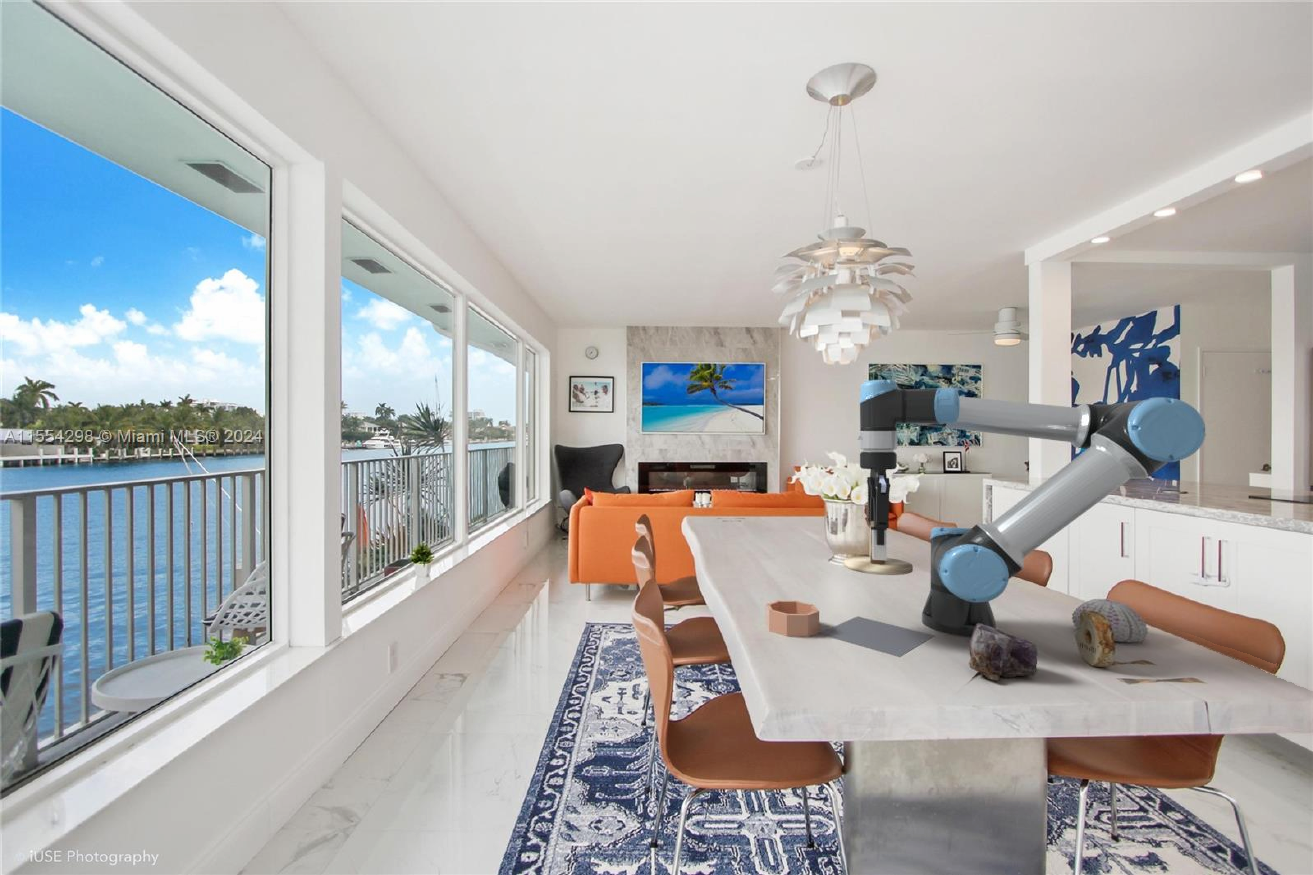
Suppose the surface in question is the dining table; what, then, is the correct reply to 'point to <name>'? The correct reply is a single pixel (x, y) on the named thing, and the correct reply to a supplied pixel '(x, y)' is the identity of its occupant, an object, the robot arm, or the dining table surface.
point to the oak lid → (877, 563)
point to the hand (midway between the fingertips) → (877, 557)
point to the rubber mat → (877, 636)
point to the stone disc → (1095, 639)
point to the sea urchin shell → (1116, 619)
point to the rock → (1001, 654)
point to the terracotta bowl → (792, 618)
